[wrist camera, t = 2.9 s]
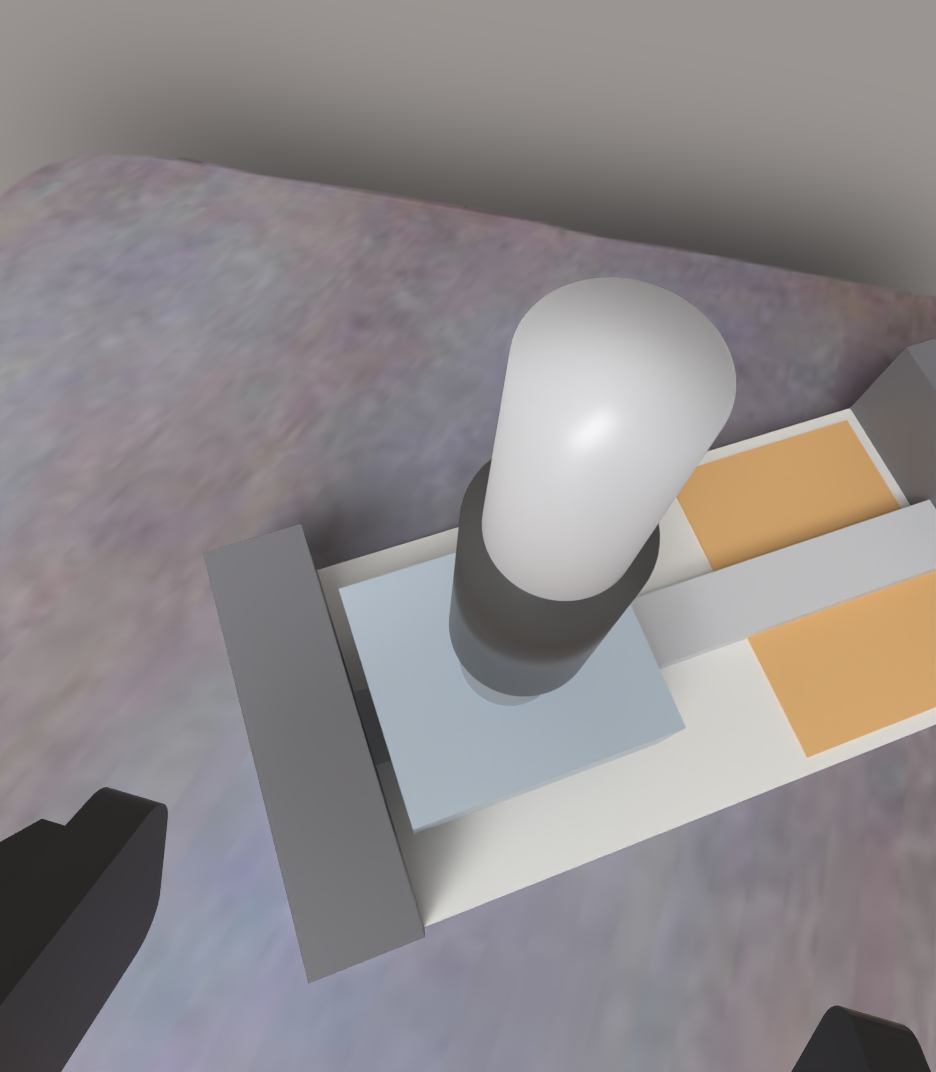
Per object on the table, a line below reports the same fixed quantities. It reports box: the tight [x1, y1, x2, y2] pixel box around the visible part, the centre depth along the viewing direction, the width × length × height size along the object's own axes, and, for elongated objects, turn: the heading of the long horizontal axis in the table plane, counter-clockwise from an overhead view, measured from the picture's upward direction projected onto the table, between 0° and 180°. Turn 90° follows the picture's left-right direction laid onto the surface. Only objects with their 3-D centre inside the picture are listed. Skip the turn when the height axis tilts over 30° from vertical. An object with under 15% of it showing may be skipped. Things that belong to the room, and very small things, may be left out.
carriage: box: [339, 277, 736, 835], centre depth 17 cm, size 8×7×17 cm
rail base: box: [203, 339, 936, 983], centre depth 26 cm, size 28×12×6 cm, turn 110°
